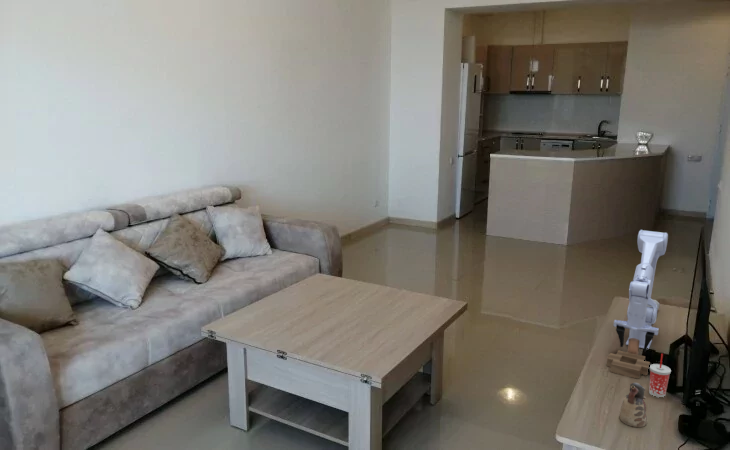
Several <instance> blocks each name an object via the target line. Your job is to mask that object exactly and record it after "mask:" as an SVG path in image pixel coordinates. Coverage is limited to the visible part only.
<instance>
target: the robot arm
mask: <svg viewBox="0 0 730 450" xmlns="http://www.w3.org/2000/svg"><path fill="white" fill-rule="evenodd" d="M668 239H669V233H668V232H660V231H652V230H645V229H644V230H643V229H640V230H639V231H638V234H637V239H636V241H637V249H638V251H639V252H640V253H641V259H640V263H639V264H637V265H636V266H635V271H634V275H633V278H632V281H630V283H629V286H628V287H629V288H628V297H629V298H628V301H629V303H628V305H627V311H626V317H627V320H618V319H614V320H613V327H615V331H616V334H617V335H618V339H619V343H620V346H619V347H620V348H623V347H624V343H625V345H626V346H628V343H629V339H630V338H635V339H638V340H639V341H640V342H639V349H643V351H642V352H643V353H646V352H647V350H649V349H650V347H651V345H652V342H653V338H654V336H658V335H659V331H660V330H659V327H654V326H652V325H654V324H655V323H657V317H658V310H657V308H658V305H657V303H656V302H655V301H654V300H655V299H652V292H653V289H654V280H655V274H656V270H657V269H656V268H657V262H658V260H659V258H660V257H661V256H664V255H665V253H666V251H667V246H668V241H669V240H668ZM647 305H648V306H652V307H648V306H647ZM626 329H628V330H629V334H628V338H627V340H626V342H625V341H624V340H625V333H626ZM647 348H648V349H647Z"/></svg>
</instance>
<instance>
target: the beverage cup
mask: <svg viewBox="0 0 730 450" xmlns="http://www.w3.org/2000/svg"><path fill="white" fill-rule="evenodd" d="M663 358H664V353H661V354H660V360H659V361H660V362H659V363H653V364H652V363H651V364H650V367H649V388H648V389H649V390H648V392H649V395H650V396H652V395H653V396H652V397H654V396H656V397H655V398H659V397H663V398H665V397H666V394H667V389H668V384H669V379H670V376H671V375H670V374H671V372H672V370H671V368H670V367H669V366H667V365H664V364H663ZM664 396H665V397H664Z"/></svg>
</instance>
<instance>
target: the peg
mask: <svg viewBox="0 0 730 450" xmlns="http://www.w3.org/2000/svg"><path fill="white" fill-rule="evenodd" d="M639 342H640V341H639V340H638V339H635V338H630V339H629V343H628V345H627V352H628V353H633V354H637V355H639V349H640V347H639Z"/></svg>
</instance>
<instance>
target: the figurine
mask: <svg viewBox="0 0 730 450" xmlns="http://www.w3.org/2000/svg"><path fill="white" fill-rule="evenodd" d="M629 385H630V386H629V393H628V394H626V395H625V396H624V397H623V399H622V402H621V407H620V410H619V419H620V421H621V422H622V423H624V424H625V425H627V426H630V427H633V428H642V427H645V426H647V425H646V424H647V405H646V402H645V401H644V400H646V399H647V397H646V396H645V391H646V388H645V387H643V386H642V385H641V384H640V383H639V382H633V383H630V384H629Z"/></svg>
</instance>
